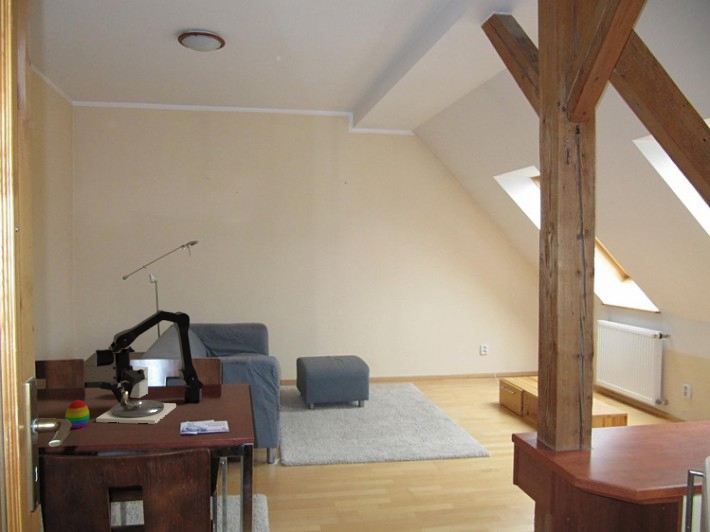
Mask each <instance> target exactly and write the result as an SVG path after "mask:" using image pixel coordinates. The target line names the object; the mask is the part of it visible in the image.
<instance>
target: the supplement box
mask: <svg viewBox="0 0 710 532" xmlns="http://www.w3.org/2000/svg"><path fill="white" fill-rule="evenodd" d="M132 367H133V370H134V371H136V370H137V371H138V370H140V369H142V370H144V375H145V380H141V381H140V382H139V383H137V384H136V385H135V386H134V387H133V389H132V392H131V395H130V398H131V399H132V398H134V399H141V398H143V397H144V396H146V394H147V395H148V393H149V367H148V366H135V365H134V366H132Z"/></svg>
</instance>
